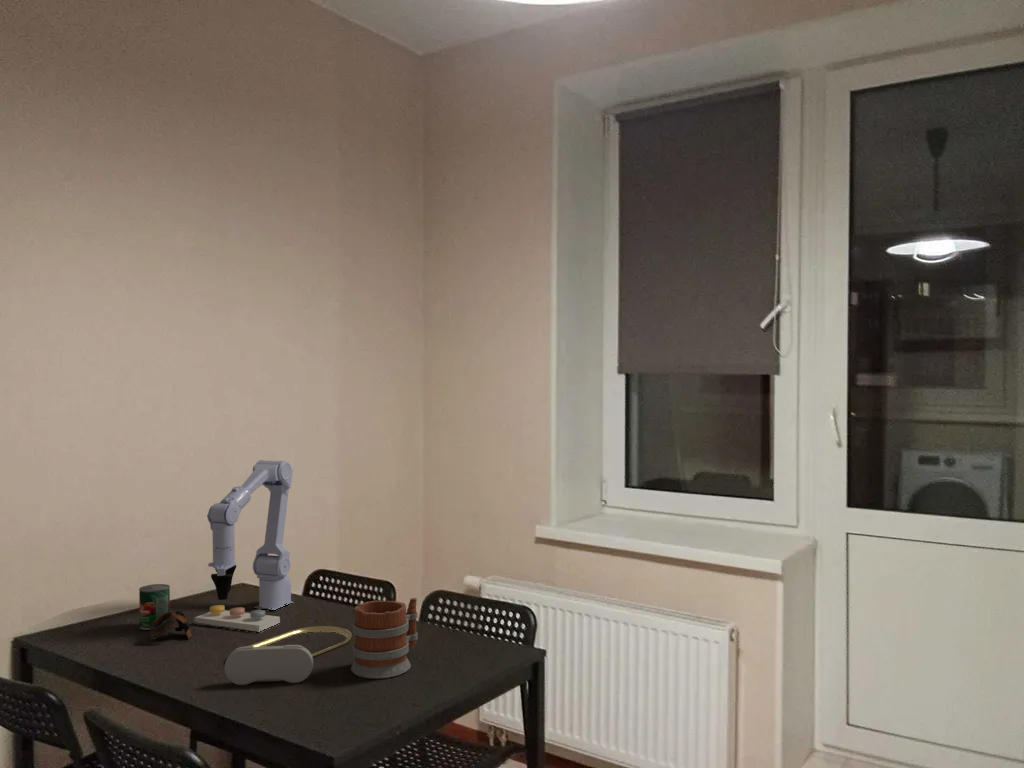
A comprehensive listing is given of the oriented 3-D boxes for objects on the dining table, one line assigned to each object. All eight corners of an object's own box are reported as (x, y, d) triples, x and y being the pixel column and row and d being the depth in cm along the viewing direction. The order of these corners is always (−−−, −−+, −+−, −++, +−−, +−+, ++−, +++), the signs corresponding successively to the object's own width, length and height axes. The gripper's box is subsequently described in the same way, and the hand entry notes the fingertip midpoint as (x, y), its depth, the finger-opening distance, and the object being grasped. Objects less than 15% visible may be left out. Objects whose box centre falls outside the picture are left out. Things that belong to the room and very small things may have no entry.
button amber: (216, 608, 242) (216, 604, 242) (227, 609, 241) (227, 605, 241) (206, 612, 238) (206, 608, 238) (218, 613, 237) (217, 609, 237)
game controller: (313, 679, 194) (313, 643, 194) (312, 682, 192) (312, 646, 192) (226, 682, 192) (226, 646, 192) (224, 686, 190) (224, 649, 190)
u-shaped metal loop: (211, 665, 204) (211, 658, 204) (314, 628, 234) (314, 622, 234) (265, 679, 195) (265, 672, 195) (366, 638, 225) (366, 632, 225)
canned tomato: (175, 623, 238) (175, 584, 238) (161, 631, 231) (160, 591, 230) (148, 622, 239) (148, 583, 239) (133, 630, 231) (133, 590, 231)
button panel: (216, 616, 245) (216, 609, 245) (279, 623, 237) (279, 616, 237) (194, 624, 237) (194, 617, 237) (259, 632, 229) (259, 625, 229)
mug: (338, 671, 198) (337, 608, 198) (395, 649, 214) (394, 590, 214) (381, 684, 190) (380, 617, 190) (437, 660, 206) (437, 599, 206)
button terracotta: (236, 610, 239) (236, 606, 239) (247, 612, 238) (247, 608, 238) (226, 614, 236) (226, 610, 236) (238, 616, 234) (238, 611, 234)
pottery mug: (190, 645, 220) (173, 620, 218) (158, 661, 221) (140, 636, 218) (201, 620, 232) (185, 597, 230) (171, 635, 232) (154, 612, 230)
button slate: (256, 613, 237) (256, 609, 237) (268, 614, 235) (268, 610, 235) (247, 617, 233) (247, 612, 233) (259, 618, 232) (258, 614, 232)
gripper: (211, 542, 239) (212, 590, 239) (204, 553, 225) (205, 603, 225) (237, 541, 241) (238, 588, 241) (232, 551, 227) (233, 602, 227)
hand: (224, 595), depth 233 cm, fingers open, 7 cm apart
